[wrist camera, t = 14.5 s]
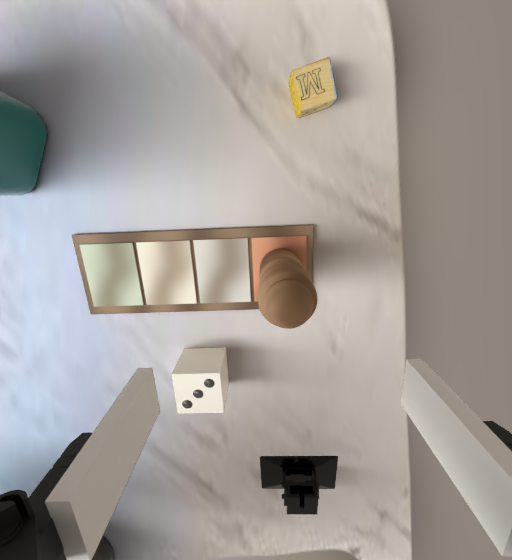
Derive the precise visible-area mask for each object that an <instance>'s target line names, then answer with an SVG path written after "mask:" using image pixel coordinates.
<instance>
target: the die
mask: <svg viewBox="0 0 512 560" xmlns="http://www.w3.org/2000/svg"><path fill="white" fill-rule="evenodd" d="M172 381H173V387H174V393H175V400H176V406H177V412H178V413H224V408H225V402H226V396H227V391H228V385H229V378H228V366H227V355H226V347H223V348H184V350H183V352H182V354H181V356H180V358H179V360H178V362H177V364H176V366H175V368H174V370H173V372H172Z"/></svg>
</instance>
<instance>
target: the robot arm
mask: <svg viewBox="0 0 512 560" xmlns="http://www.w3.org/2000/svg"><path fill="white" fill-rule="evenodd" d="M401 405H402V406H403V408H404V409H405V411H406V412H407V414H408V415H409V416H410V418H411V420H412V421H413V423H414V424H415V426H416V427H417V429H418V430H419V432H420V433H421V435H422V436H423V438H424V439H425V441H426V442H427V444H428V445H429V447H430V448H431V450H432V451H433V453H434V454H435V456H436V457H437V459H438V460H439V462H440V463H441V465H442V466H443V468H444V469H445V471H446V472H447V474H448V475H449V477H450V478H451V480H452V481H453V483H454V484H455V486H456V487H457V489H458V490H459V492H460V493H461V495H462V496H463V498H464V499H465V501H466V502H467V504H468V505H469V507H470V508H471V510H472V511H473V513H474V514H475V516H476V517H477V519H478V520H479V522H480V523H481V525H482V526H483V528H484V529H485V531H486V532H487V534H488V535H489V537H490V539H491V540H492V541H493V543H494V544H495V546H496V547H497V549H498V551H499V552H500V554H501V555H502V556H512V434H511V433H509V431H507V430H505V429H504V428H502V427H501V426H499V425H498V424H496V423H494V422H493V421H482V420H481V419H480V418H479V417H478V416H477V415H476V414H475V413H474V412H473V411H472V410H471V409H470V408H469V407H468V406H467V405H466V404H465V403H464V402H463V401H462V400H461V399H460V398H459V397H458V396H457V395H456V394H455V393H454V391H452V389H450V387H449V386H448V385H447V384H446V383H445V382H444V381H443V380H442V379H441V378H440V377H439V376H438V375H437V374H436V373H435V372H434V371H433V370H432V369H431V368H430V367H429V366H428V365H427V364H426V363H425V362H424V361H423V360H422V359H407V360H406V367H405V375H404V383H403V391H402V399H401ZM159 412H160V407H159V402H158V396H157V391H156V385H155V380H154V374H153V369H152V368H138V369H137V370H136V372H135V373H134V375H133V376H132V377H131V379H130V380H129V382H128V383H127V385H126V386H125V387H124V389H123V390H122V392H121V393H120V395H119V396H118V397H117V399H116V400H115V402H114V403H113V405H112V406H111V407H110V409H109V410H108V412H107V413H106V415H105V416H104V417H103V419H102V420H101V422H100V423H99V425H98V426H97V427H96V429H95V430H94V432H93V433H82V434H81V435H80V436H79V437H77V438H76V439H75V440H74V441H72V442H71V443H70V444H69V446H68V447H67V448H66V449H65V451H64V452H63V453H62V455H61V457H60V458H59V459H58V460H57V461H56V463H55V464H54V465H53V468H52V469H50V471H49V472H48V473H47V475H46V476H45V477H44V478H43V480H42V481H41V482H40V484H39V485H38V486H37V488H36V489H35V490H34V492H33V493H32V494H31V496H30V497H29V498H28V497H27V494H26V492H24V491H22V490H14V491H9V492H7V493H4V494H2V495H0V560H114V554H113V551H112V548H111V546H110V545H109V543H108V542H107V541H106V540H105V538H104V537H102V536H103V534H104V532H105V530H106V527H107V525H108V523H109V521H110V519H111V517H112V514H113V512H114V510H115V508H116V506H117V504H118V501H119V499H120V497H121V495H122V493H123V491H124V488H125V486H126V484H127V482H128V480H129V477H130V475H131V473H132V471H133V469H134V467H135V464H136V462H137V460H138V458H139V456H140V454H141V451H142V449H143V447H144V445H145V443H146V441H147V438H148V436H149V434H150V432H151V430H152V427H153V425H154V423H155V421H156V419H157V417H158V414H159Z"/></svg>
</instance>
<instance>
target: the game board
mask: <svg viewBox="0 0 512 560" xmlns="http://www.w3.org/2000/svg"><path fill="white" fill-rule="evenodd" d="M72 238H73V243H74V247H75V251H76V255H77V259H78V263H79V267H80V271H81V276H82V280H83V284H84V288H85V292H86V296H87V300H88V304H89V308H90V313H91V314H118V313H150V312H183V311H216V310H248V309H259V304H258V295H259V273H260V263H261V261H262V259H263V257H264V256H265V255H266V254H267V253H268V252H270V251H272V250H274V249H279V248H284V249H288V250H290V251H292V252H294V253H295V254H296V255H297V256H298V258H299V260H300V261H301V263H302V265H303V267H304V269H305V271H306V273H307V275H308V277H309V279H310V280H311V282H312V269H313V225H297V226H273V227H249V228H224V229H200V230H176V231H151V232H127V233H103V234H78V235H72Z"/></svg>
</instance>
